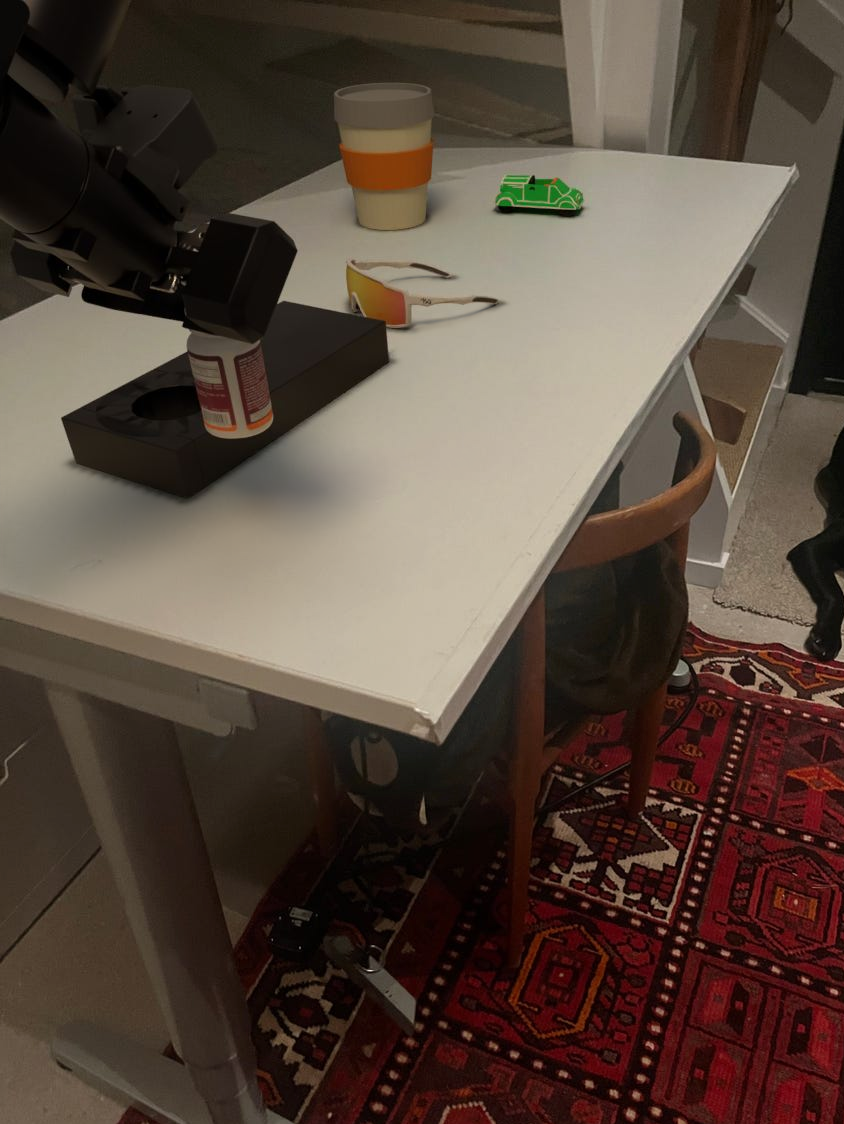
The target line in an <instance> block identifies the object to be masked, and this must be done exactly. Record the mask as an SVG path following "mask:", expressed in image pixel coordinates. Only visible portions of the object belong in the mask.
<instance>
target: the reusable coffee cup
mask: <svg viewBox="0 0 844 1124" xmlns="http://www.w3.org/2000/svg"><path fill="white" fill-rule="evenodd" d="M333 114H334V115H333V116H334V117H333V118H334V119H333V120H334V121H335V122H336V123H337V126H338V131H339V136H340V140H341V142H340V143H339V144H338V147H339V151H340V157H341V160H342V164H343V168H344V175H345V178H346V182H347V184H348V185H350V187H351V191H352V197H353V200H354V204H355V205H354V206H355V209H356V214H357V219H358V222H359V224H360V225H361V226H362V227H364V228H367V229H371V230H379V231H397V230H405V229H411V228H414V227H418V226H419V225H422V224H423V223H425V222H426V217H427V199H428V184H429V182H430V181H431V179H432V172H433V171H432V170H433V158H434V157H433V156H434V139H433V138H432V137H431V136H432V120H433V118H435V109H434V102H433V94H432V89H431V88H430V87H428V86H426V85H422V84H417V83H407V82H377V83H376V82H373V83H364V84H363V83H361V84H355V85H351V86H346V87H342V88H340V89H337V90H335V92H334V93H333Z"/></svg>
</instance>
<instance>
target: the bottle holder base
mask: <svg viewBox="0 0 844 1124" xmlns="http://www.w3.org/2000/svg"><path fill="white" fill-rule="evenodd" d="M260 343H261V349H262V355H263V360H264V366H265V372H266V377H267V383H268V389H269V394H270V400H271V407H272V412H273V421H272V423H271V425H270V426H269V427H268V428H267V429H266V430H264V431H263V432H261V433H259V434H256V435H253V436H250V437H245V438H232V439H231V438H221V437H217V436H214V435H212V434H211V433H209V432H208V431H207V430H206V428H205V425H204V420H203V415H202V412H201V407H200V403H199V399H198V395H197V390H196V385H195V381H194V377H193V372H192V368H191V364H190V359H189V355H188V351H185V352H183V353H181V354H179V355H177V356H176V357H174V358H172V359H170V360H168V361H166V362H164V363H162V364H160V365H158V366H156V367H155V368H153V369H151V370H148V371H147V372H145V373H143V374H140V375H139V376H137V377H135V378H133V379H131V380H130V381H128V382H126V383H124V384H122V385H120V386H119V387H117V388H114V389H113V390H110V391H109V392H107V393H105V394H103V395H102V396H99V397H98V398H95V399H94V400H92V401H90V402H88V403H86V404H84V405H82V406H80V407H79V408H76V409H74V410H73V411H71V412H69V413H66V414H65V415H63V416H61V417H60V420H61V422H62V425H63V429H64V432H65V435H66V438H67V441H68V444H69V447H70V450H71V452H72V456H73V458H74V461H75V463H76V464H79V465H82V466H85V467H88V468H91V469H94V470H98V471H101V472H104V473H107V474H109V475H113V476H117V477H119V478H123V479H125V480H129V481H132V482H135V483H139V484H142V485H144V486H148V487H151V488H154V489H157V490H160V491H163V492H168V493H170V494H173V495H175V496H176V495H177V496H179V497H183V498H185V499H189V498H191V497H193V496H194V495H195V494H197V493H198V492H200V491H201V490H203V489H204V488H205V487H207V486H209V485H210V484H212V483H213V482H214V481H216V480H217V479H219V478H220V477H222V476H224V474H226V473H228V472H229V471H231V470H232V469H233V468H235V467H236V466H238V465H240V464H241V463H243V462H244V461H246V460H247V459H249V458H250V457H252V456H253V455H254V454H256V453H257V452H259V451H260V450H261V449H263V448H264V447H266V446H268V445H270V444H271V442H273V441H274V440H276V439H277V438H279V437H280V436H282V435H284V434H285V433H287V432H288V431H289V430H291V429H292V428H294V427H295V426H297V425H298V424H300V423H302V422H303V421H304V420H306V419H307V418H308V417H310V416H311V415H313V414H314V413H316V412H317V411H319V410H320V409H322V408H323V407H325V406H327V405H328V404H329V403H331V402H332V401H333V400H335V399H337V398H338V397H339V396H341V395H343V394H344V393H345V392H347V391H348V390H350V389H352V388H353V387H354V386H355V385H357V384H358V383H360V382H361V381H363V380H364V379H365V378H368V377H369V376H371V375H372V374H373V373H375V372H377V370H379V369H381V368H382V367H383V366H385V365H386V364H388V363H389V362H390V358H389V357H390V355H389V343H388V331H387V327H386V321H383V320H378V319H373V318H368V317H364V315H358V314H352V313H347V312H342V311H339V310H337V311H336V310H333V309H327V308H322V307H319V306H312V305H307V304H303V303H297V302H293V301H287V300H282V301H280V302H278V303H277V306H276V308H275V311H274V313H273V316H272V318H271V321H270V324H269V326H268V329H267V331H266V334H265V336H264V338H263V339H261V340H260Z"/></svg>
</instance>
